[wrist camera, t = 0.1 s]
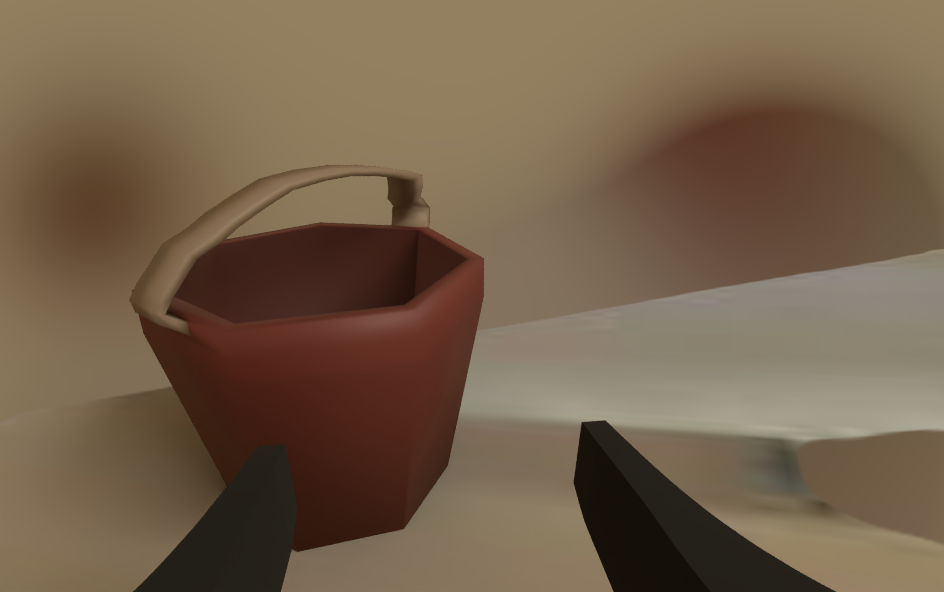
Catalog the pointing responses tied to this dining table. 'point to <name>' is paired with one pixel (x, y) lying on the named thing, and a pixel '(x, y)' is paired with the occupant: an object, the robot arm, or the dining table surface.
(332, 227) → the bucket
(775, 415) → the dining table surface
